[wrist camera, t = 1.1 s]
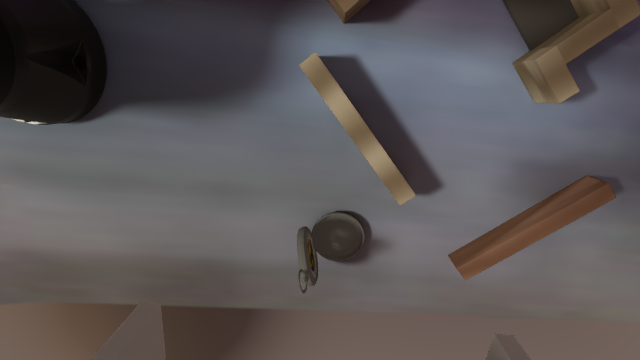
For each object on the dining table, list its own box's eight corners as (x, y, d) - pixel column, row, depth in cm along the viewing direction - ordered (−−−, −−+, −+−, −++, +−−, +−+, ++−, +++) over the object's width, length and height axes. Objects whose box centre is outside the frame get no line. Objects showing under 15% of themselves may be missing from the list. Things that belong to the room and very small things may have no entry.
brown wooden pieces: (297, 60, 34) (292, 56, 30) (531, -133, 28) (562, -168, 24) (449, 270, 40) (460, 289, 36) (665, 148, 34) (706, 156, 30)
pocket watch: (374, 235, 39) (386, 282, 29) (327, 274, 41) (324, 330, 31) (329, 191, 38) (326, 226, 28) (283, 234, 40) (265, 280, 30)
